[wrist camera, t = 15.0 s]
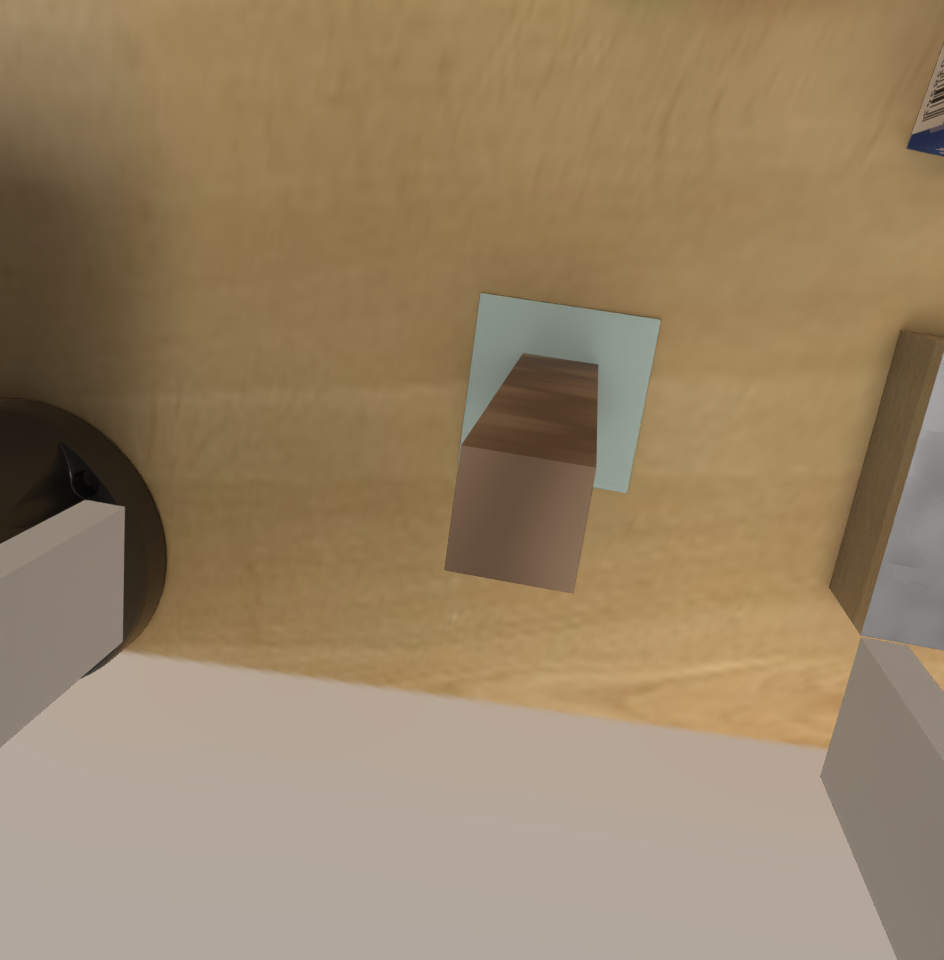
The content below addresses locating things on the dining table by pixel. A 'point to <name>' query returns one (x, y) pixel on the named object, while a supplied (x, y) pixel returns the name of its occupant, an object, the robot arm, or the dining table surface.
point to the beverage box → (931, 116)
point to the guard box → (900, 507)
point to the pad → (577, 337)
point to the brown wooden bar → (528, 477)
